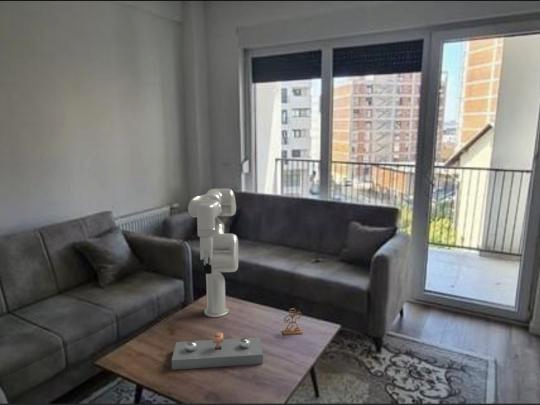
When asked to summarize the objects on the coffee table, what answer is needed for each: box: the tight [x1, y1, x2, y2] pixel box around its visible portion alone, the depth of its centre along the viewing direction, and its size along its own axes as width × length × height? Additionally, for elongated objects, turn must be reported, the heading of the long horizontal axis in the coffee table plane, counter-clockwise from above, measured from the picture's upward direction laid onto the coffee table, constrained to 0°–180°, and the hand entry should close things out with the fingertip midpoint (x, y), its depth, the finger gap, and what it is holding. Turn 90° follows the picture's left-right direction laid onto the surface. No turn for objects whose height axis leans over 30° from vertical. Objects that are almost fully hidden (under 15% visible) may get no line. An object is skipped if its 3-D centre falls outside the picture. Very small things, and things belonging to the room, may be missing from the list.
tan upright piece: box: [282, 307, 303, 336], centre depth 183 cm, size 9×4×12 cm, turn 95°
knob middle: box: [211, 331, 224, 349], centre depth 162 cm, size 4×4×6 cm
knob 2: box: [239, 337, 250, 349], centre depth 164 cm, size 4×4×6 cm
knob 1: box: [186, 340, 197, 352], centre depth 162 cm, size 4×4×6 cm
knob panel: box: [171, 336, 264, 370], centre depth 163 cm, size 14×36×4 cm, turn 96°
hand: (207, 273), depth 171 cm, fingers closed
